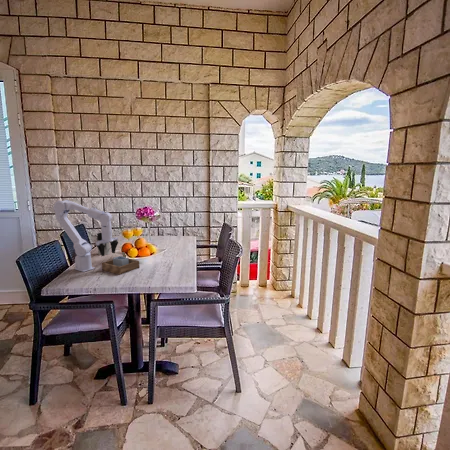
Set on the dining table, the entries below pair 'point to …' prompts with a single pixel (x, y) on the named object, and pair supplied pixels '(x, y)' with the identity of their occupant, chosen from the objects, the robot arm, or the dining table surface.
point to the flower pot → (123, 252)
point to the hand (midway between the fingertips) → (108, 254)
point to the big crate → (122, 269)
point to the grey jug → (107, 249)
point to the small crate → (120, 261)
